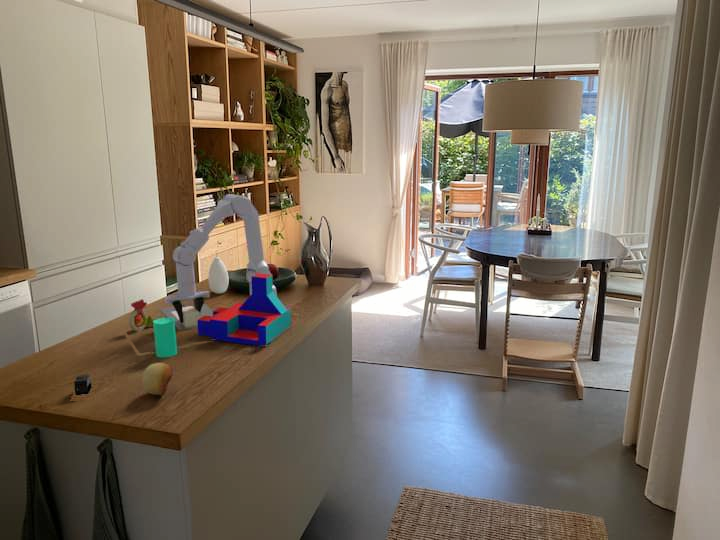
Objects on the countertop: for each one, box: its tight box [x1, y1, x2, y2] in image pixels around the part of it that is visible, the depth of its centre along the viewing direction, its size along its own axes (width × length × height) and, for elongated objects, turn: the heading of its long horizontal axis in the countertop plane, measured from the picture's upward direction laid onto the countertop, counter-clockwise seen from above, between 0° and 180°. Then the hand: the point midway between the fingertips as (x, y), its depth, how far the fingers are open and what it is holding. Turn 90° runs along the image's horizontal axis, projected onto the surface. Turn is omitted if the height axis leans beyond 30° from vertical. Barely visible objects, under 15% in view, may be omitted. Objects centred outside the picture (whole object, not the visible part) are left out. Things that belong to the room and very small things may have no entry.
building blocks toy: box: [197, 273, 291, 346], centre depth 180 cm, size 19×25×18 cm
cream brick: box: [179, 306, 200, 328], centre depth 190 cm, size 5×9×4 cm, turn 32°
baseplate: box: [159, 303, 214, 332], centre depth 199 cm, size 16×30×1 cm, turn 32°
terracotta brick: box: [182, 300, 195, 307], centre depth 210 cm, size 5×5×4 cm
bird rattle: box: [128, 299, 154, 332], centre depth 184 cm, size 6×11×9 cm
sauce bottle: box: [207, 251, 230, 294], centre depth 227 cm, size 8×8×18 cm
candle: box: [152, 315, 178, 358], centre depth 164 cm, size 6×6×12 cm
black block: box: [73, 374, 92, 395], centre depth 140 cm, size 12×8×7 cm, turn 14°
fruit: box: [141, 362, 174, 396], centre depth 138 cm, size 8×8×8 cm
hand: (189, 320), depth 191 cm, fingers closed on cream brick, 5 cm apart
